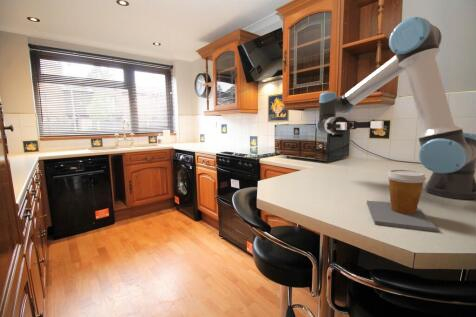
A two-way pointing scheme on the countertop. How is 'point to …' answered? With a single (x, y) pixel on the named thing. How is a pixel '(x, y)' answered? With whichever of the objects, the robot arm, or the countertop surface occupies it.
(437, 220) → the countertop surface
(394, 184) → the disposable coffee cup
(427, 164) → the robot arm
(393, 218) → the drip mat
